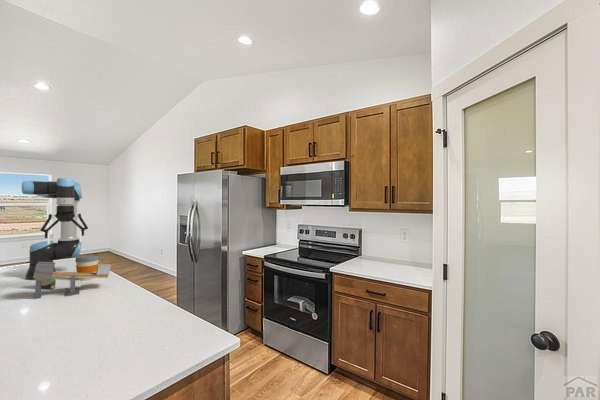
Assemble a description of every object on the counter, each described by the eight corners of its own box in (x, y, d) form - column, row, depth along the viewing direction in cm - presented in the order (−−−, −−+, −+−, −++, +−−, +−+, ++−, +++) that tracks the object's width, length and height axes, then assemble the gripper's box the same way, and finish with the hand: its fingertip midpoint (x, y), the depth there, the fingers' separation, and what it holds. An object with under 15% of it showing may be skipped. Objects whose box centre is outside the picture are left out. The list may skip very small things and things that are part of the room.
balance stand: (37, 294, 147) (37, 276, 147) (79, 288, 158) (79, 271, 158) (34, 301, 138) (34, 282, 138) (79, 293, 149) (79, 276, 149)
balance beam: (34, 275, 145) (38, 261, 146) (106, 276, 165) (108, 263, 166) (32, 279, 138) (36, 264, 139) (107, 279, 158) (110, 266, 159)
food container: (63, 286, 161) (63, 270, 161) (53, 290, 155) (53, 272, 155) (45, 285, 162) (45, 269, 162) (34, 289, 156) (34, 272, 156)
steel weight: (95, 274, 160) (98, 264, 161) (107, 274, 164) (110, 264, 165) (96, 275, 156) (98, 265, 157) (108, 275, 160) (110, 265, 161)
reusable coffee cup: (78, 277, 181) (78, 254, 181) (101, 275, 186) (101, 253, 186) (72, 282, 169) (72, 258, 169) (96, 279, 175) (96, 257, 175)
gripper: (33, 205, 141) (33, 245, 141) (93, 205, 157) (93, 241, 157) (35, 205, 147) (35, 243, 147) (93, 205, 162) (92, 239, 162)
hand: (65, 242), depth 152 cm, fingers open, 13 cm apart
